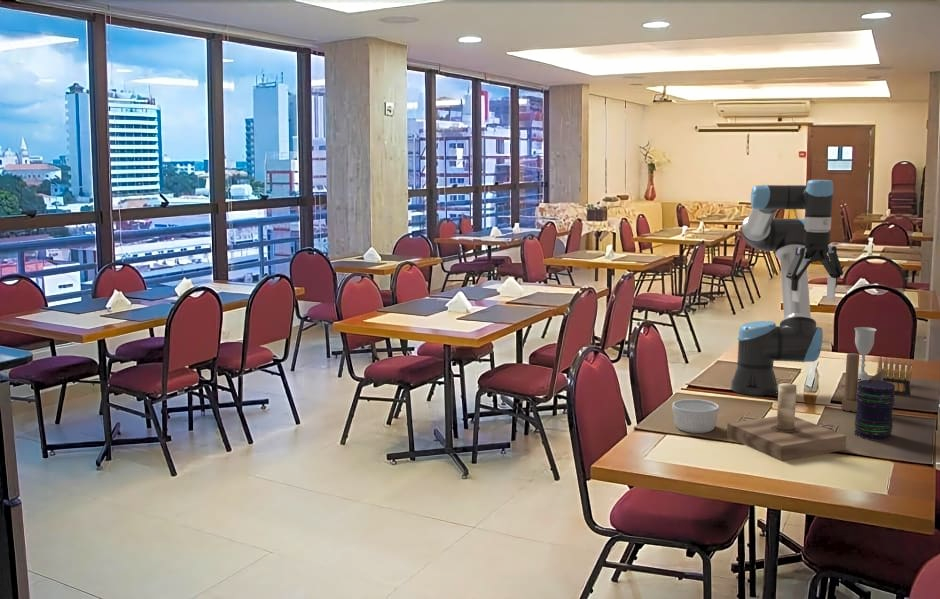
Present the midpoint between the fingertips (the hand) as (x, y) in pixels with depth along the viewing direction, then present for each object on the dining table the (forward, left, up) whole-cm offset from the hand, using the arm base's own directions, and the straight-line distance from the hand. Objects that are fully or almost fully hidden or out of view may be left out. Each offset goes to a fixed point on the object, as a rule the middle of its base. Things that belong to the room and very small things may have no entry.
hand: (813, 300), depth 278 cm
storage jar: (+28, -2, -35) cm, 45 cm away
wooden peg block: (+9, +13, -35) cm, 38 cm away
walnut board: (+24, -30, -35) cm, 52 cm away
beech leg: (+24, -30, -34) cm, 51 cm away
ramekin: (+2, -44, -35) cm, 56 cm away
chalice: (-23, +46, -35) cm, 62 cm away
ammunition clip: (-4, +40, -35) cm, 53 cm away
